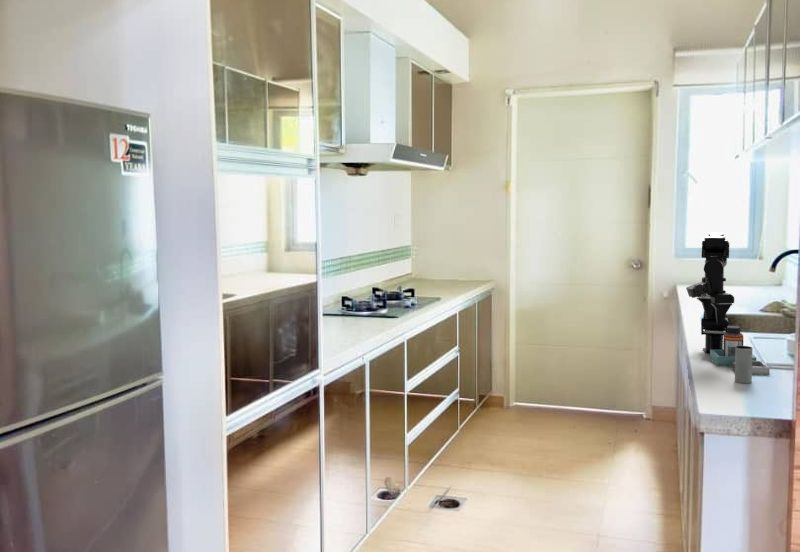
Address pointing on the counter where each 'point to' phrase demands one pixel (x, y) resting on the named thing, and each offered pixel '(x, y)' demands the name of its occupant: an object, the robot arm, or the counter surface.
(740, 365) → the grey hollow cylinder
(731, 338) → the supplement bottle
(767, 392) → the counter surface
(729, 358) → the bin
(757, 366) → the collar
